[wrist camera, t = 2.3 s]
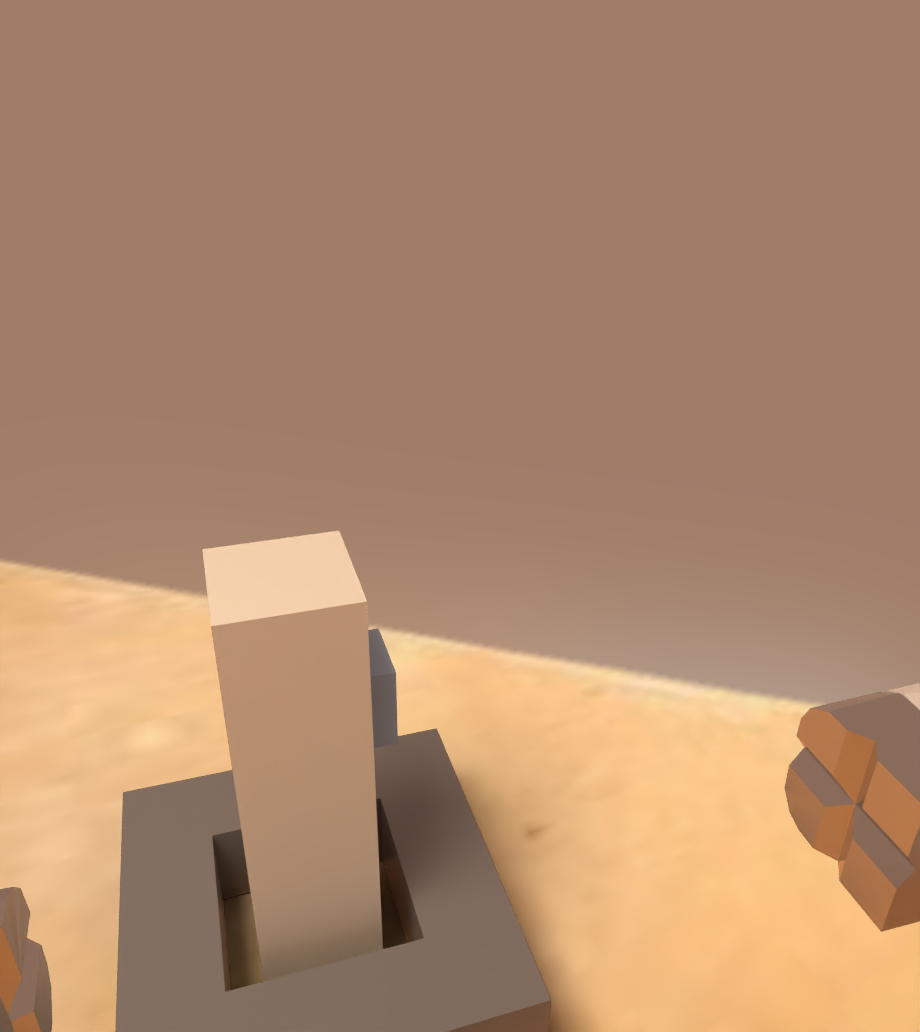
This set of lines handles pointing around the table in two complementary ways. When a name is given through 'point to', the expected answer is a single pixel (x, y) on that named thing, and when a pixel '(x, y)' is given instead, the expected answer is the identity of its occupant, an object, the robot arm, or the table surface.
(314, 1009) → the socket
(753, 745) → the table surface
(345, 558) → the plug
